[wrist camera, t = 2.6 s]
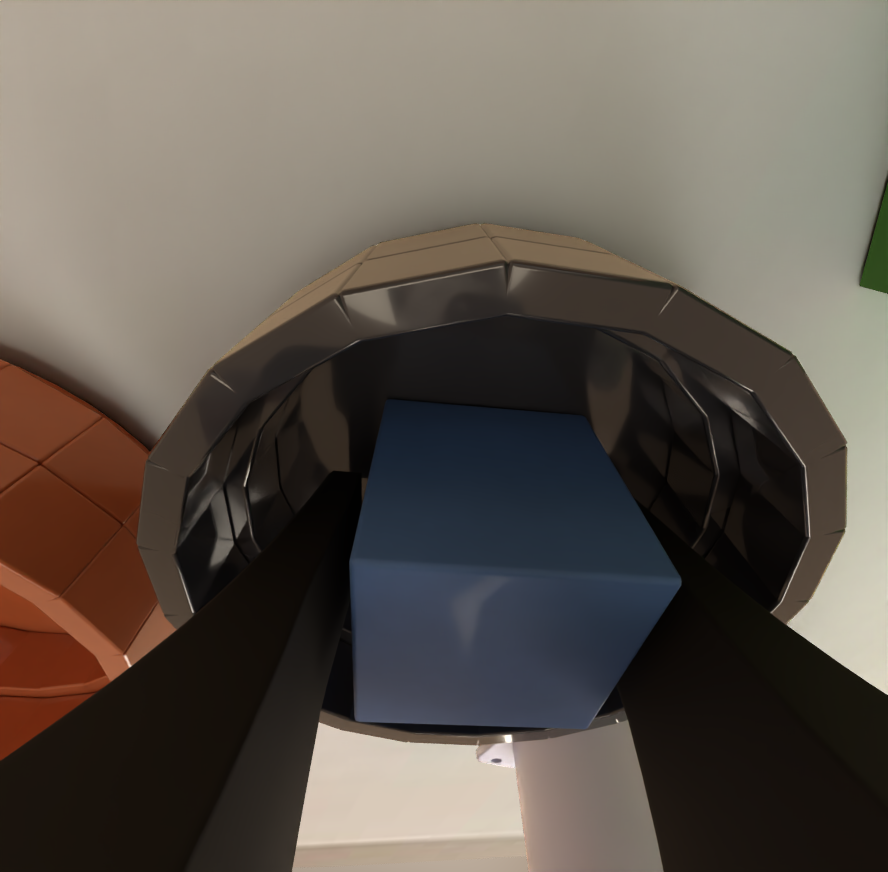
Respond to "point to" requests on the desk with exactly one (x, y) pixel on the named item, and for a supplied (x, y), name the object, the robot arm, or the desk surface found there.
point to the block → (497, 570)
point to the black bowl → (506, 387)
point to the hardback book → (878, 253)
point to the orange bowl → (66, 555)
